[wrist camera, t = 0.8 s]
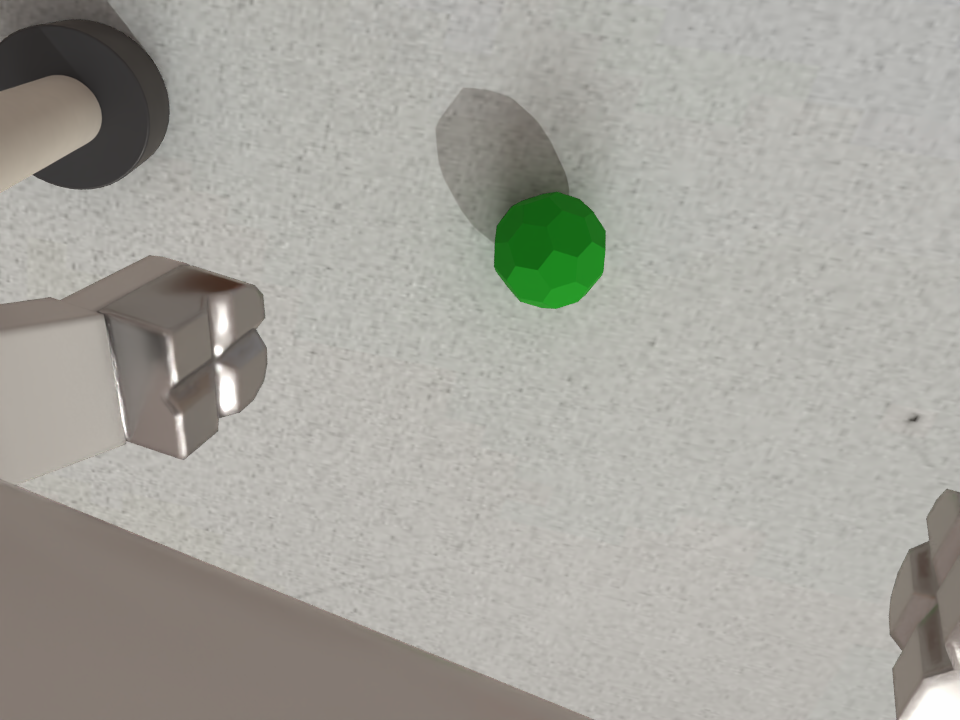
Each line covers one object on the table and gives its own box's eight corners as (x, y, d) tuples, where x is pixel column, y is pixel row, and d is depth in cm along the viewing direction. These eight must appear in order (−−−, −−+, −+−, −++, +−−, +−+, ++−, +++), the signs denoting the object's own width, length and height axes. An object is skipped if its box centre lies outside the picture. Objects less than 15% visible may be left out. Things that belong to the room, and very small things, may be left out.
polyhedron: (547, 303, 38) (566, 346, 34) (466, 247, 37) (474, 284, 32) (615, 221, 37) (643, 255, 33) (533, 158, 35) (551, 185, 31)
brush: (-13, 38, 31) (-290, 88, 19) (135, 3, 31) (-44, 30, 19) (55, 186, 34) (-146, 316, 21) (192, 154, 34) (69, 266, 21)
